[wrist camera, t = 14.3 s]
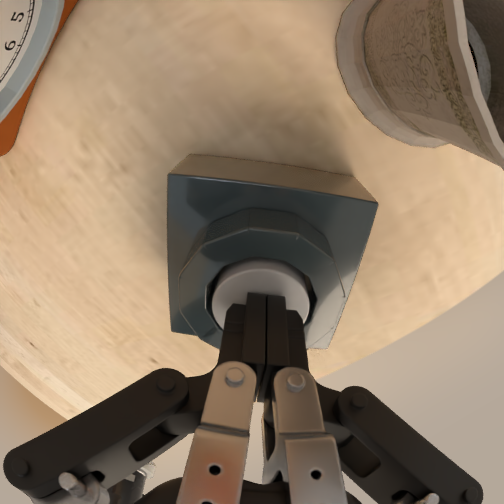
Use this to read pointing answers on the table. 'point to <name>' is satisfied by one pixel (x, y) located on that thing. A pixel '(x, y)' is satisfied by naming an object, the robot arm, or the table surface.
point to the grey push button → (259, 285)
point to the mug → (428, 71)
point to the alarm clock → (24, 55)
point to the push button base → (262, 235)
